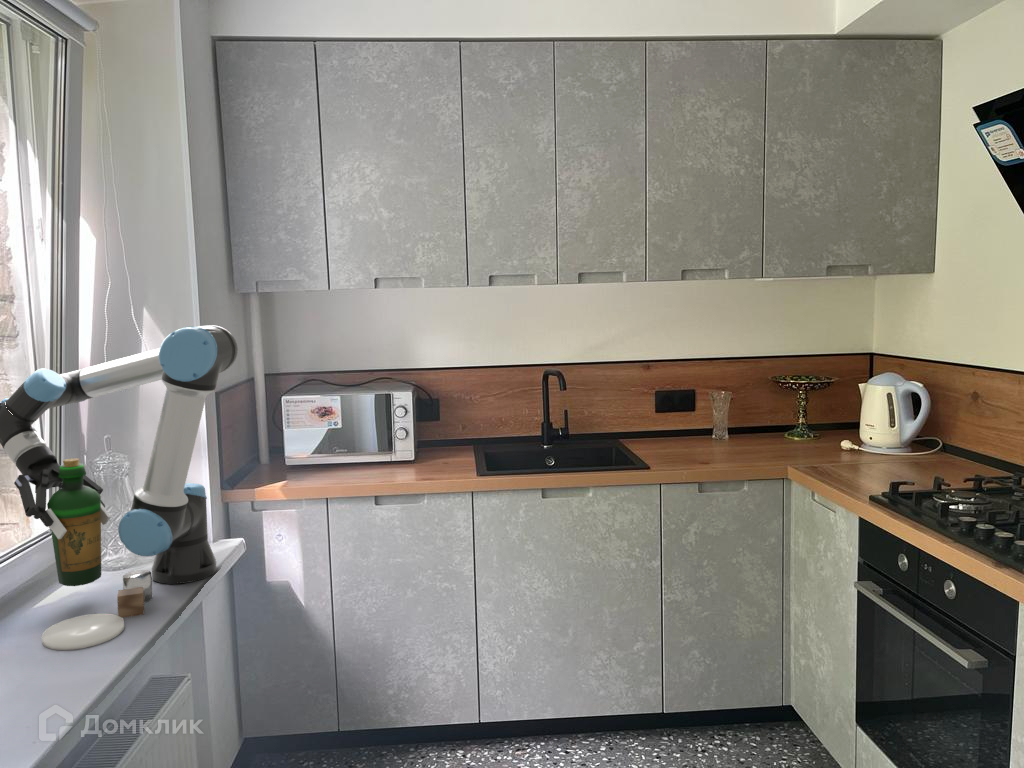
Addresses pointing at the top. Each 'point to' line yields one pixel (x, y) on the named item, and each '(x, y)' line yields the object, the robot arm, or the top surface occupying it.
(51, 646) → the white round disc
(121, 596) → the walnut block
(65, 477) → the bottle
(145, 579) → the metal tin
